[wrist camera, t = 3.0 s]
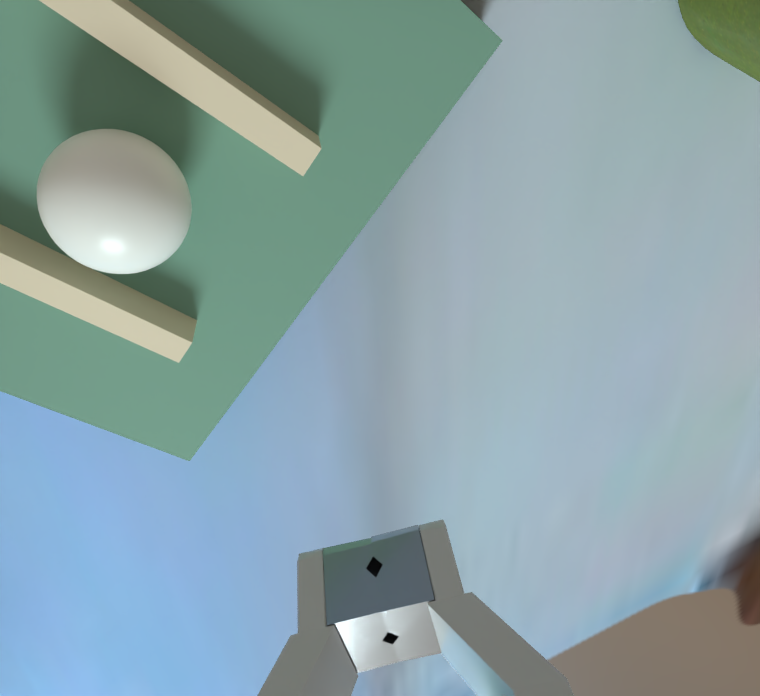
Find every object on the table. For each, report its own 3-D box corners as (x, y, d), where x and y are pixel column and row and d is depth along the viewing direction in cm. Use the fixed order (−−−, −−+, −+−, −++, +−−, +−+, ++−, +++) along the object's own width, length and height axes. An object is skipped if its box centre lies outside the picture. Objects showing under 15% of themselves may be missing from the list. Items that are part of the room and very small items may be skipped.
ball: (163, 261, 20) (141, 322, 16) (41, 197, 18) (-11, 251, 15) (221, 165, 18) (209, 210, 15) (94, 84, 16) (49, 116, 13)
